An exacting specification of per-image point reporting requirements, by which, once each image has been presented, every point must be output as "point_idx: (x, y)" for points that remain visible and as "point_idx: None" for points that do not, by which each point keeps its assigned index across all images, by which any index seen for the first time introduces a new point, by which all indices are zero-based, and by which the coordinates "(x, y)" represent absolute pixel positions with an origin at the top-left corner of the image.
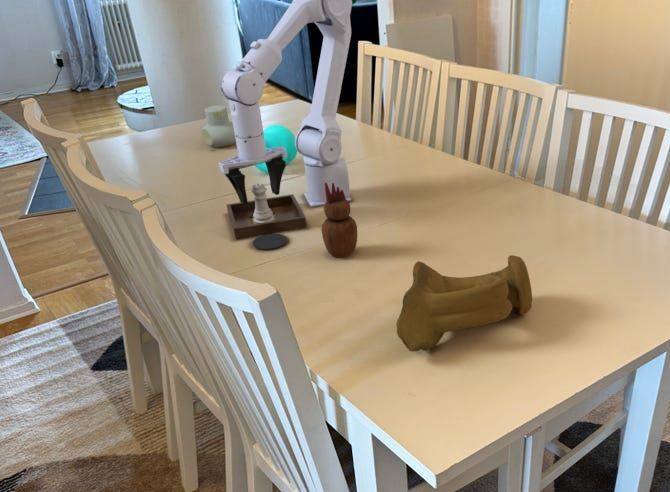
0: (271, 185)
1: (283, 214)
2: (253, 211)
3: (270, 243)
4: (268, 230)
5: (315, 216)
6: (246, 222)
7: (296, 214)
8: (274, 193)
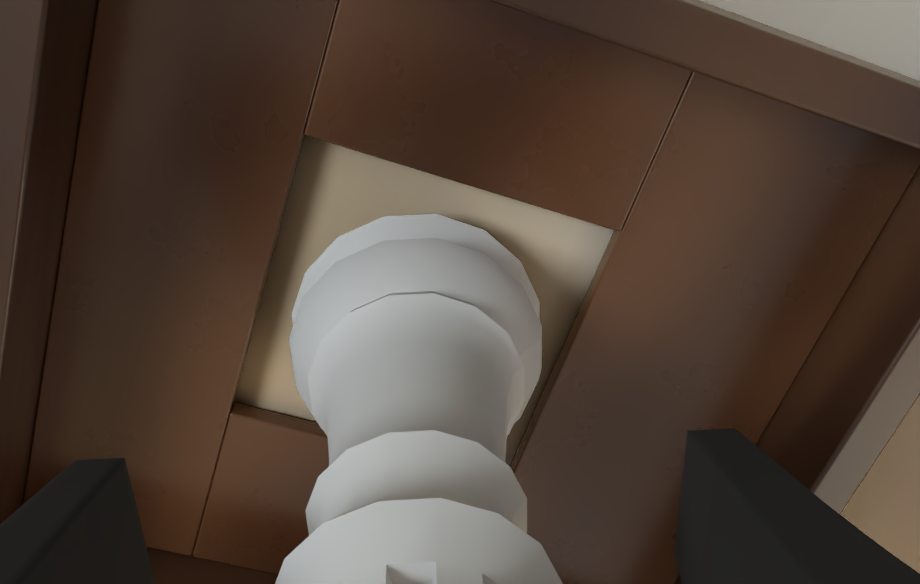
0: (734, 517)
1: (660, 350)
2: (422, 13)
3: None
4: None
5: (873, 524)
6: (202, 282)
7: (760, 432)
8: (682, 498)
